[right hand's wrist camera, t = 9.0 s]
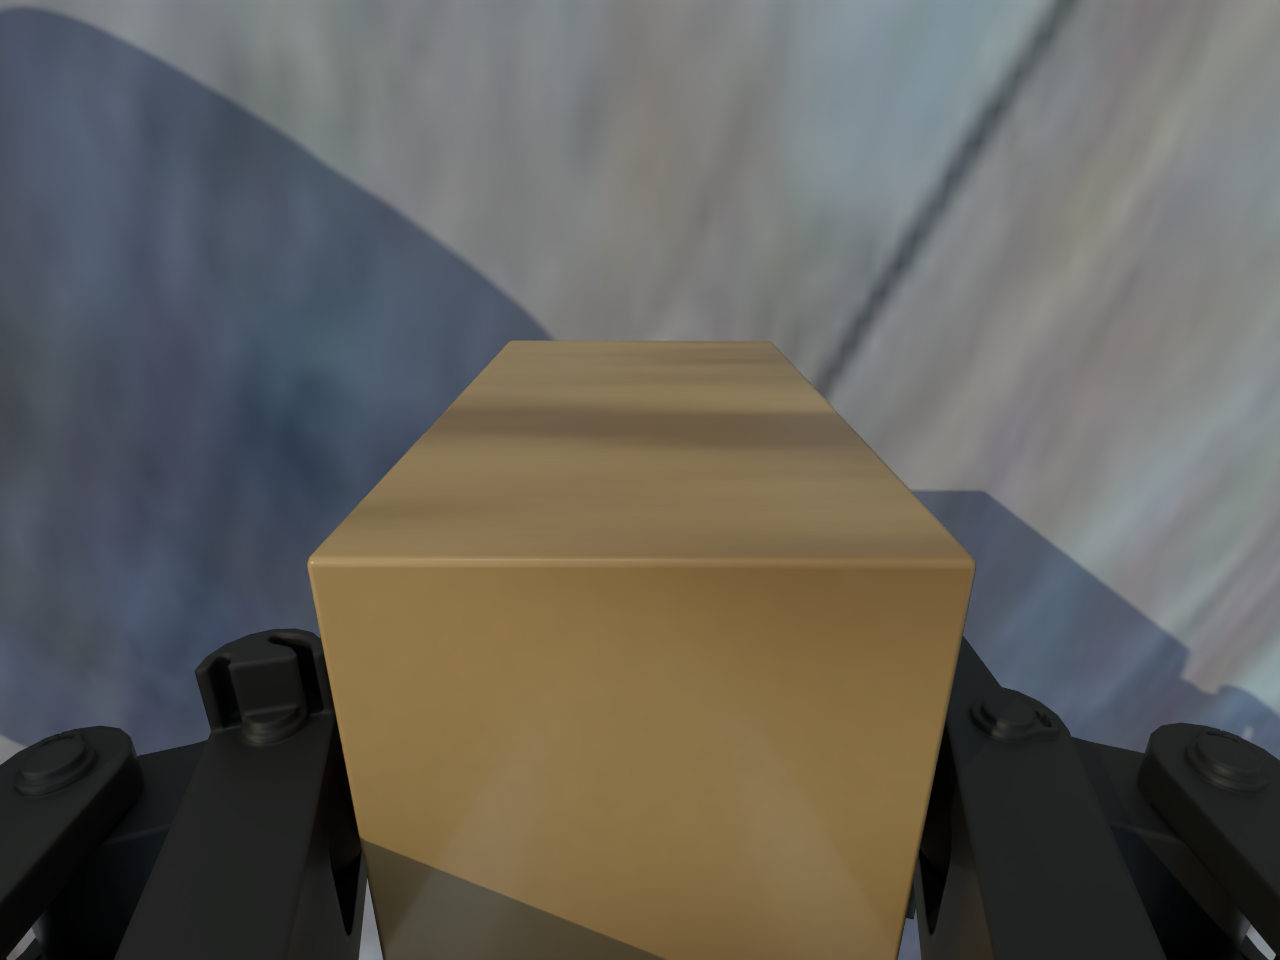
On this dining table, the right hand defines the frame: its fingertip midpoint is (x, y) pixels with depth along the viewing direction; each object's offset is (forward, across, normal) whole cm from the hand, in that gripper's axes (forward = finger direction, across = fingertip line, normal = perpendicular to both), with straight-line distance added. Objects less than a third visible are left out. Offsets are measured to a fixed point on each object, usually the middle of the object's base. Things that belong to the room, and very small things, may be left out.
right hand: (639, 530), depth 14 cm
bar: (+1, 0, -7) cm, 7 cm away
